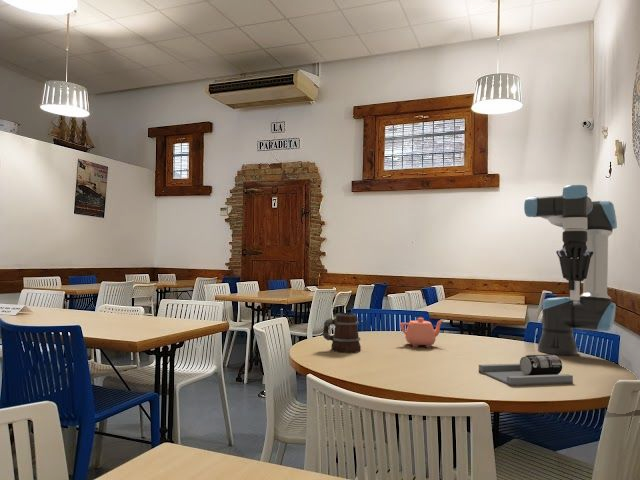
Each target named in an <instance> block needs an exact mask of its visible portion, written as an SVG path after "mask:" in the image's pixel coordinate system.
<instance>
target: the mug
mask: <svg viewBox="0 0 640 480" xmlns="http://www.w3.org/2000/svg"><path fill="white" fill-rule="evenodd" d="M335 316H336V317H335V318H334V319H333V318H328V319H326V320H325V321H324V323H323V325H324V326H323V331H322V332H321V333H322V336H323V338H324V339H325V340H327V341H332V342H331V350H332V352H336V351H337V352H336V353H344V352H346V353H347V354H350V353H351V352H352V353H358V352H360V351H362V350H361V347H362V346H361V343H360V341H361V337H359V329H358V325H359V324H360V321H359V320H358V318H357V317H358V316H357V314H356V313H354V312H338V313H336V315H335ZM332 325H333V326H334V332H333V334H332V335H331V334H330V333H329V329H330V328H329V327H331V326H332Z"/></svg>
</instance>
